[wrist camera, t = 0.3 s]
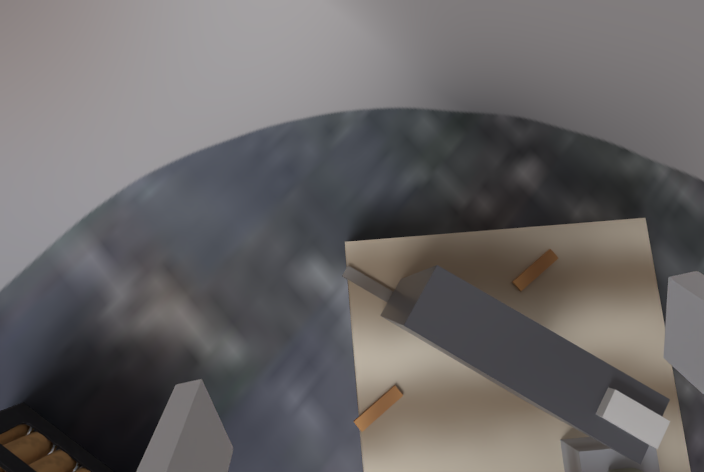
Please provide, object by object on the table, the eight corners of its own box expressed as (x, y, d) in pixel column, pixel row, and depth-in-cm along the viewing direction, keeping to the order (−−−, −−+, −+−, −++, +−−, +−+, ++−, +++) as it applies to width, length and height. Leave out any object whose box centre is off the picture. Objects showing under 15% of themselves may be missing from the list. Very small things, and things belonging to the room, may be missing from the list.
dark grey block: (380, 315, 25) (405, 325, 15) (401, 278, 25) (439, 264, 15) (521, 398, 25) (648, 469, 14) (541, 360, 25) (679, 402, 15)
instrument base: (670, 553, 27) (769, 629, 21) (366, 584, 26) (373, 672, 20) (615, 226, 30) (687, 206, 23) (339, 248, 29) (338, 233, 23)
